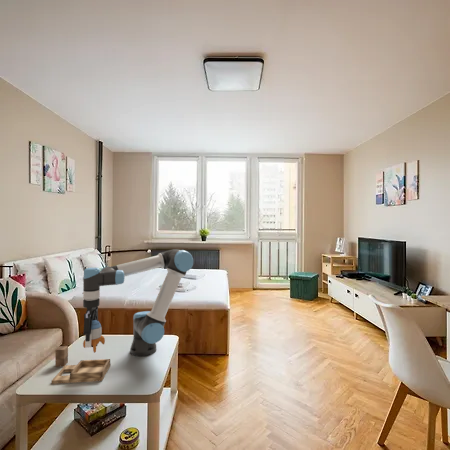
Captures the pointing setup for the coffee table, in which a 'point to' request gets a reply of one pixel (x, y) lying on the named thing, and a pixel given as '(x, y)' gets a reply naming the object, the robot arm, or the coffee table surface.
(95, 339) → the toy rocket
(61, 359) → the block
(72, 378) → the tray
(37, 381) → the coffee table surface
